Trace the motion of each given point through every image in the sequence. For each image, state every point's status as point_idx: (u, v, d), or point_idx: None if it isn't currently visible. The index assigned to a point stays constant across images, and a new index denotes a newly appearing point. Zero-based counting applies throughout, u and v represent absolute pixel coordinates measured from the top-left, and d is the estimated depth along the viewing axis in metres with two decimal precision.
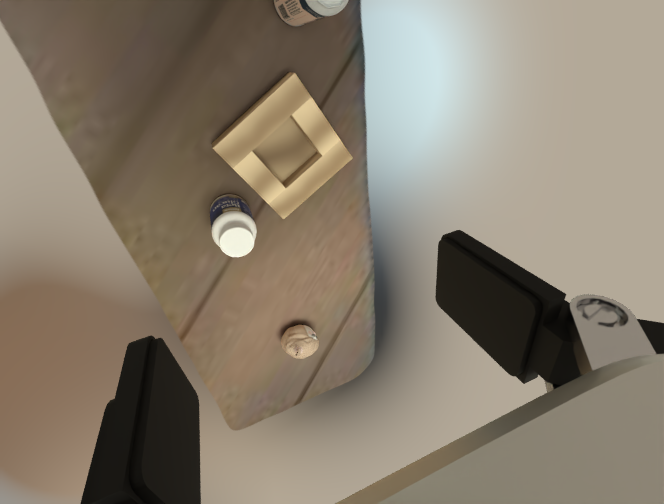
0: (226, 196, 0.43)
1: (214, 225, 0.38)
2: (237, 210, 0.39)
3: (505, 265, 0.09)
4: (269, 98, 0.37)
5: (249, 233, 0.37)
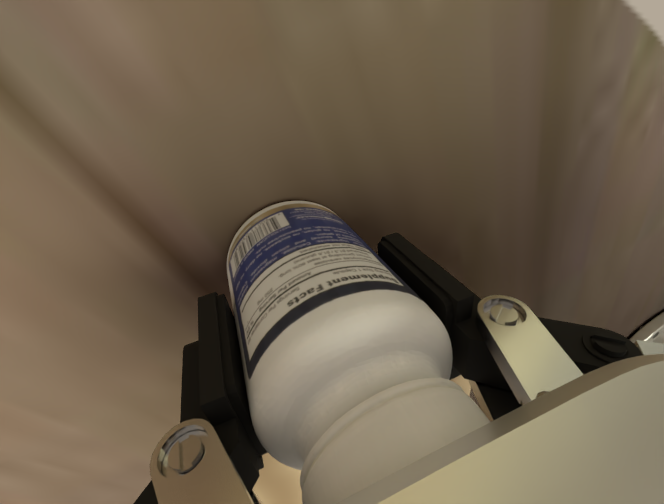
0: None
1: None
2: None
3: (428, 266, 0.09)
4: None
5: None
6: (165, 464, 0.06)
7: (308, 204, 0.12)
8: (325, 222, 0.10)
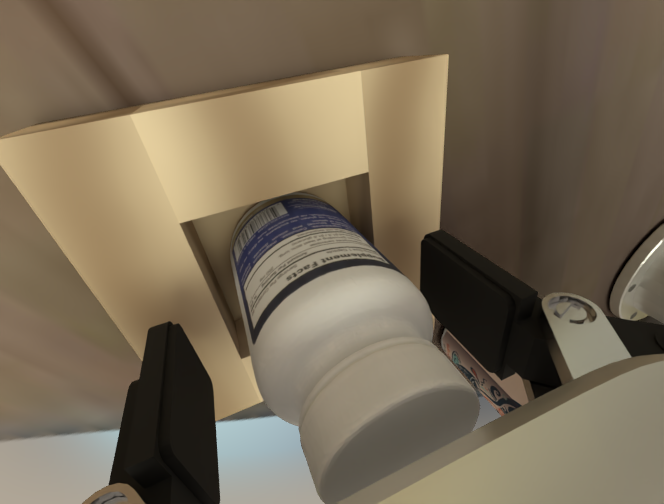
0: None
1: (427, 305, 0.09)
2: None
3: (482, 264, 0.09)
4: None
5: None
6: None
7: (305, 195, 0.13)
8: (320, 211, 0.11)
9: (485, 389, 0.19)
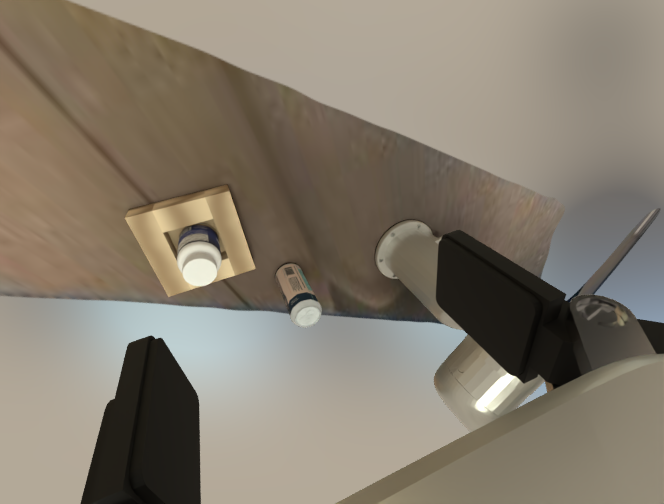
0: None
1: (216, 250, 0.41)
2: None
3: (505, 265, 0.09)
4: (246, 246, 0.47)
5: (204, 284, 0.40)
6: None
7: (199, 224, 0.45)
8: (200, 228, 0.43)
9: (281, 293, 0.51)
